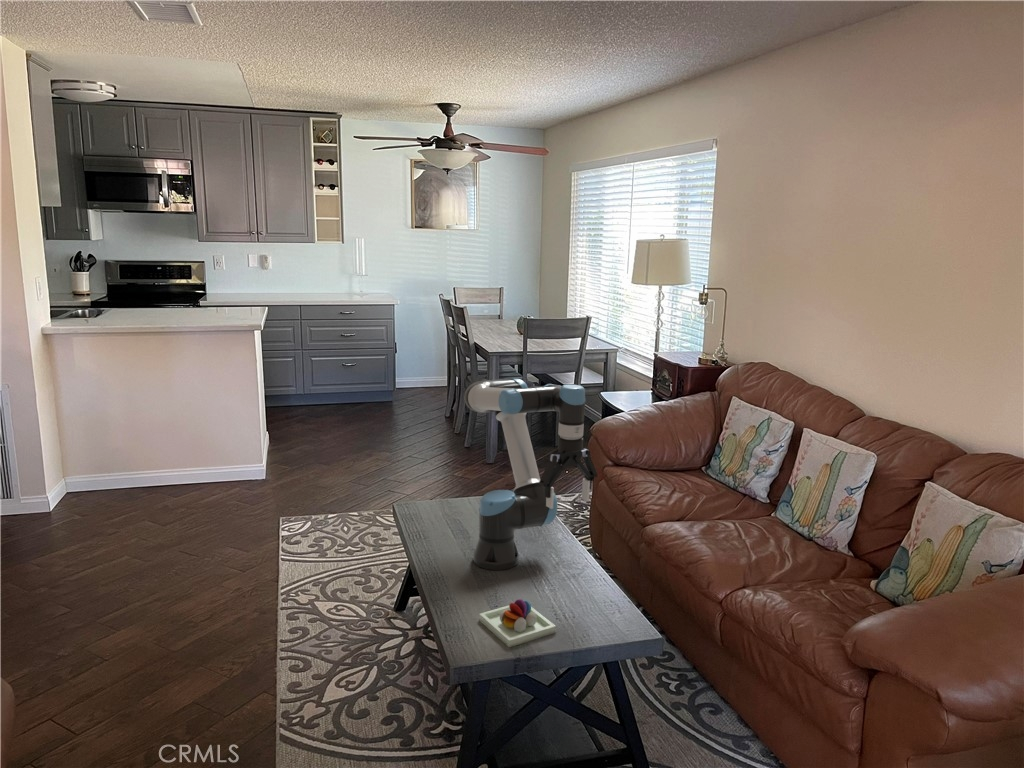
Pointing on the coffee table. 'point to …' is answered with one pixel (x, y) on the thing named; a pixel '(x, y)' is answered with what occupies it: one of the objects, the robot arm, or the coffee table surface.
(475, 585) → the coffee table surface
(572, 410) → the robot arm
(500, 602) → the coffee table surface
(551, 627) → the tray
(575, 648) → the coffee table surface
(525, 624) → the rainbow lobed toy
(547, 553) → the coffee table surface
